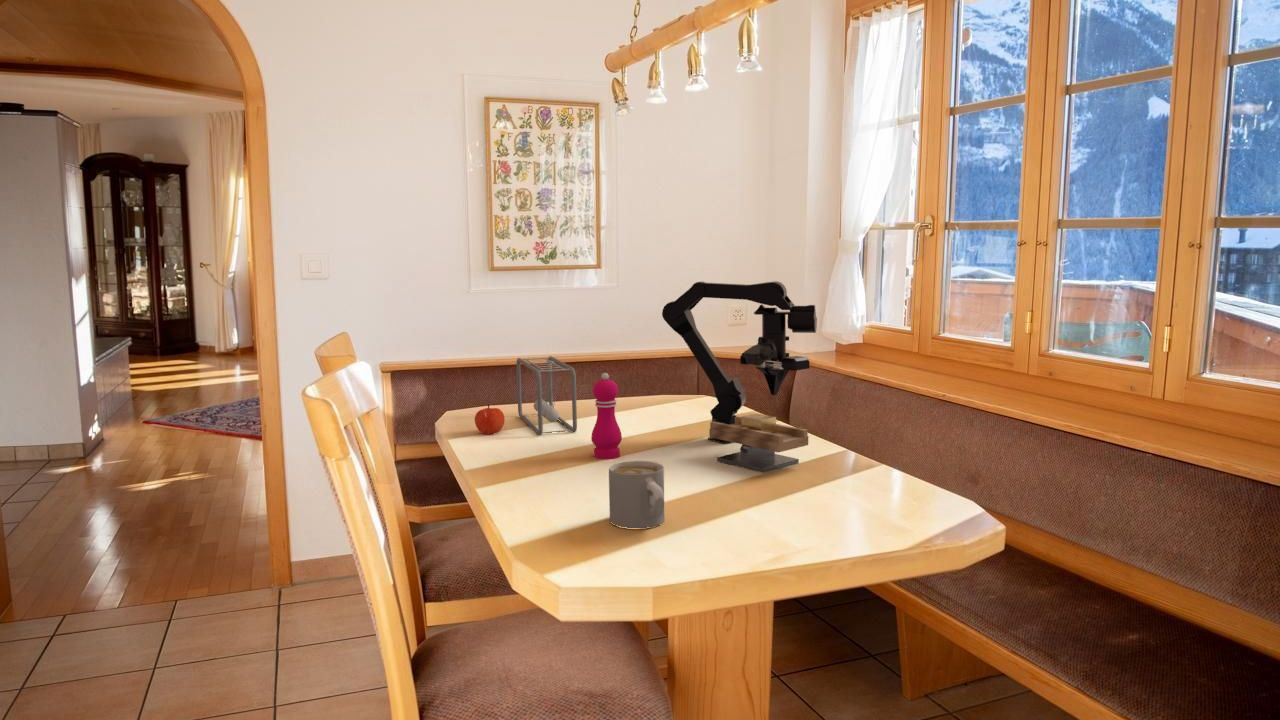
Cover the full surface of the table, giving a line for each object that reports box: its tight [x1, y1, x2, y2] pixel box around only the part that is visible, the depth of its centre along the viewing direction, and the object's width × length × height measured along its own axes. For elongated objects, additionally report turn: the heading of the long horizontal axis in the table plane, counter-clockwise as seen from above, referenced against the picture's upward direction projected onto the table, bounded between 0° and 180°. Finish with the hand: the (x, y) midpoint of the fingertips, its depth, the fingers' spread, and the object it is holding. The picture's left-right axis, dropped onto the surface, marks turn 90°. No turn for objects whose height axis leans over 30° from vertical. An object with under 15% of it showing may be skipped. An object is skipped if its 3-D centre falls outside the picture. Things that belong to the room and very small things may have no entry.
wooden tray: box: [708, 416, 809, 453], centre depth 197 cm, size 21×10×4 cm, turn 40°
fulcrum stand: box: [716, 444, 800, 474], centre depth 198 cm, size 14×12×5 cm
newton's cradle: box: [516, 355, 578, 436], centre depth 243 cm, size 30×10×18 cm, turn 19°
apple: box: [474, 403, 506, 435], centre depth 233 cm, size 8×8×8 cm
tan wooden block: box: [740, 412, 777, 433], centre depth 197 cm, size 6×5×4 cm
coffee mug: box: [608, 460, 666, 528], centre depth 155 cm, size 13×10×10 cm
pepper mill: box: [590, 372, 623, 460], centre depth 205 cm, size 7×7×20 cm
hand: (774, 395), depth 216 cm, fingers closed
